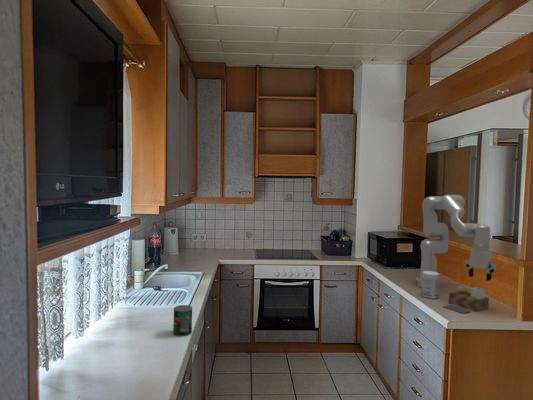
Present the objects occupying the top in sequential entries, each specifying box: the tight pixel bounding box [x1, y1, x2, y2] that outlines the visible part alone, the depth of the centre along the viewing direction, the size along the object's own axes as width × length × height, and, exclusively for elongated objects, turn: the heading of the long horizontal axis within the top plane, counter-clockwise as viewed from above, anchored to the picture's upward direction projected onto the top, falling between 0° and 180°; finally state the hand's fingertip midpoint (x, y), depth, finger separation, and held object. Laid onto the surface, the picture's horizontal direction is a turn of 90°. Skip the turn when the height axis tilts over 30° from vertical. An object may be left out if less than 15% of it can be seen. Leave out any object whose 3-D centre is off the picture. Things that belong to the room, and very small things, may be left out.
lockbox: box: [448, 290, 490, 312], centre depth 224 cm, size 16×12×6 cm
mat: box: [442, 304, 472, 315], centre depth 217 cm, size 12×7×1 cm, turn 33°
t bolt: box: [457, 285, 472, 294], centre depth 229 cm, size 7×6×3 cm
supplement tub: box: [421, 271, 440, 300], centre depth 239 cm, size 10×10×15 cm
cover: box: [471, 286, 486, 299], centre depth 219 cm, size 5×5×6 cm
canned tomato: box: [172, 304, 193, 337], centre depth 171 cm, size 8×8×11 cm
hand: (479, 278), depth 218 cm, fingers open, 9 cm apart
